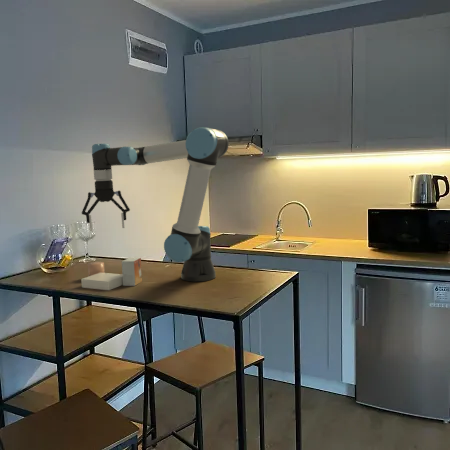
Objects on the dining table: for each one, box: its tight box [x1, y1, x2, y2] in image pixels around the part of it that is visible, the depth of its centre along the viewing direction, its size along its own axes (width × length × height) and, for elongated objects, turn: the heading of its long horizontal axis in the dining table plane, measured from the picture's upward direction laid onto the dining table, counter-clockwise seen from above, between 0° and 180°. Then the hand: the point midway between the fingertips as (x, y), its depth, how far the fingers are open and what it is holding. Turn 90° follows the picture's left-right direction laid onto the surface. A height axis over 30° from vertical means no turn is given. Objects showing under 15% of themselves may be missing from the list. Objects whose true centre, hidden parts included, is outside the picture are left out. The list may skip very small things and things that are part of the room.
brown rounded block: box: [87, 261, 106, 277], centre depth 203 cm, size 7×7×7 cm
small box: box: [121, 257, 143, 287], centre depth 192 cm, size 8×6×10 cm
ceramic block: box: [81, 272, 123, 291], centre depth 192 cm, size 14×12×4 cm
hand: (107, 229), depth 198 cm, fingers open, 13 cm apart
